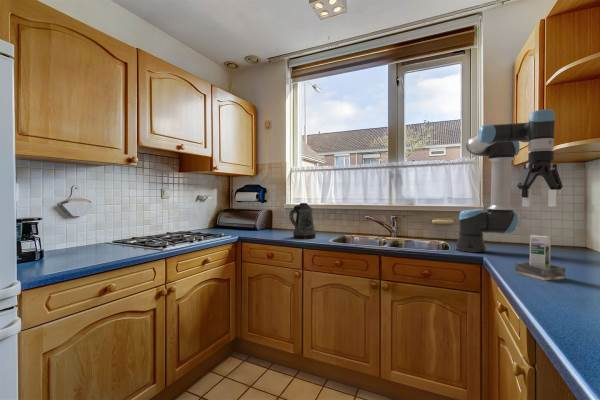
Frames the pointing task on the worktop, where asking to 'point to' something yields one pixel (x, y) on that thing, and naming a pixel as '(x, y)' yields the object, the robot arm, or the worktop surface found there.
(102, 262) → the worktop surface
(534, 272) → the frame
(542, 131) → the robot arm
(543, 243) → the syrup box
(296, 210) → the black handled container
